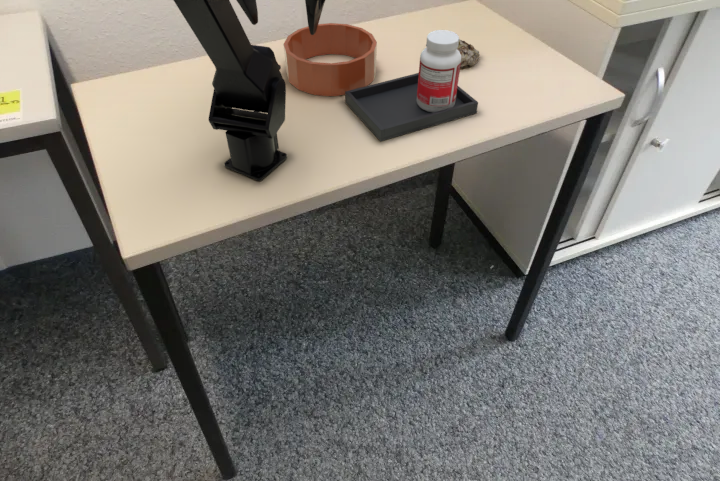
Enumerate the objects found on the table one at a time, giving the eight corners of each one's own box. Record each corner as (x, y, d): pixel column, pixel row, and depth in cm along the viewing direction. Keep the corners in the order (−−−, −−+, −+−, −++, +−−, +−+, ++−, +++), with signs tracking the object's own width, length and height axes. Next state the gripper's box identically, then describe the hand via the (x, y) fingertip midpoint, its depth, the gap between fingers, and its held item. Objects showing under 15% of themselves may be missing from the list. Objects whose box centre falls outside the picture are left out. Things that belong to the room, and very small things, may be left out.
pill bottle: (435, 90, 87) (443, 23, 79) (462, 105, 84) (473, 37, 76) (408, 102, 85) (413, 35, 77) (435, 118, 81) (443, 50, 73)
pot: (345, 105, 85) (344, 73, 81) (269, 80, 91) (265, 50, 87) (391, 65, 94) (392, 35, 90) (319, 45, 100) (318, 16, 96)
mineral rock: (492, 54, 92) (451, 46, 89) (482, 77, 95) (442, 71, 92) (468, 30, 100) (431, 22, 97) (460, 52, 102) (423, 45, 100)
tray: (380, 141, 78) (380, 130, 76) (345, 102, 86) (344, 91, 84) (476, 113, 83) (478, 102, 82) (435, 78, 91) (436, 68, 89)
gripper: (365, -108, 67) (365, 16, 78) (237, -120, 71) (253, -2, 83) (331, -84, 59) (335, 48, 71) (190, -100, 64) (215, 27, 75)
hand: (283, 28), depth 75 cm, fingers open, 9 cm apart
